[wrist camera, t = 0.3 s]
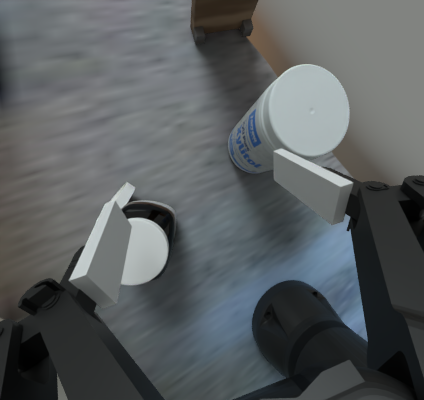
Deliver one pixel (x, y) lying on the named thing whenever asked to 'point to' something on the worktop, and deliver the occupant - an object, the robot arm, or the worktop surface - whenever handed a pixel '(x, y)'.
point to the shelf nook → (221, 17)
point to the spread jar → (146, 237)
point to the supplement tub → (291, 119)
